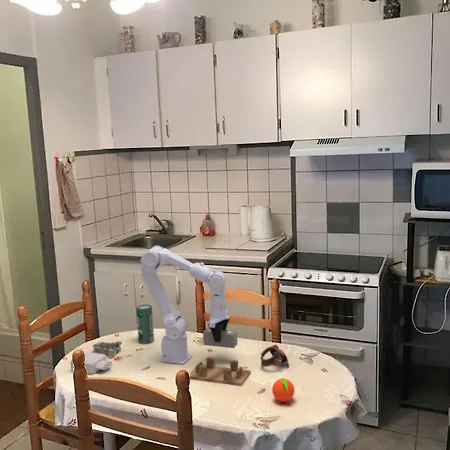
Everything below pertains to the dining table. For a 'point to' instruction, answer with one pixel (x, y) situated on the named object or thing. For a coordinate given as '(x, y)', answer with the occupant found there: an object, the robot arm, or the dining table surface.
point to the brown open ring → (276, 355)
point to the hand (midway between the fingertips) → (219, 339)
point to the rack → (220, 373)
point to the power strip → (226, 339)
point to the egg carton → (105, 346)
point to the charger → (95, 362)
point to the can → (145, 324)
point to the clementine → (283, 390)
